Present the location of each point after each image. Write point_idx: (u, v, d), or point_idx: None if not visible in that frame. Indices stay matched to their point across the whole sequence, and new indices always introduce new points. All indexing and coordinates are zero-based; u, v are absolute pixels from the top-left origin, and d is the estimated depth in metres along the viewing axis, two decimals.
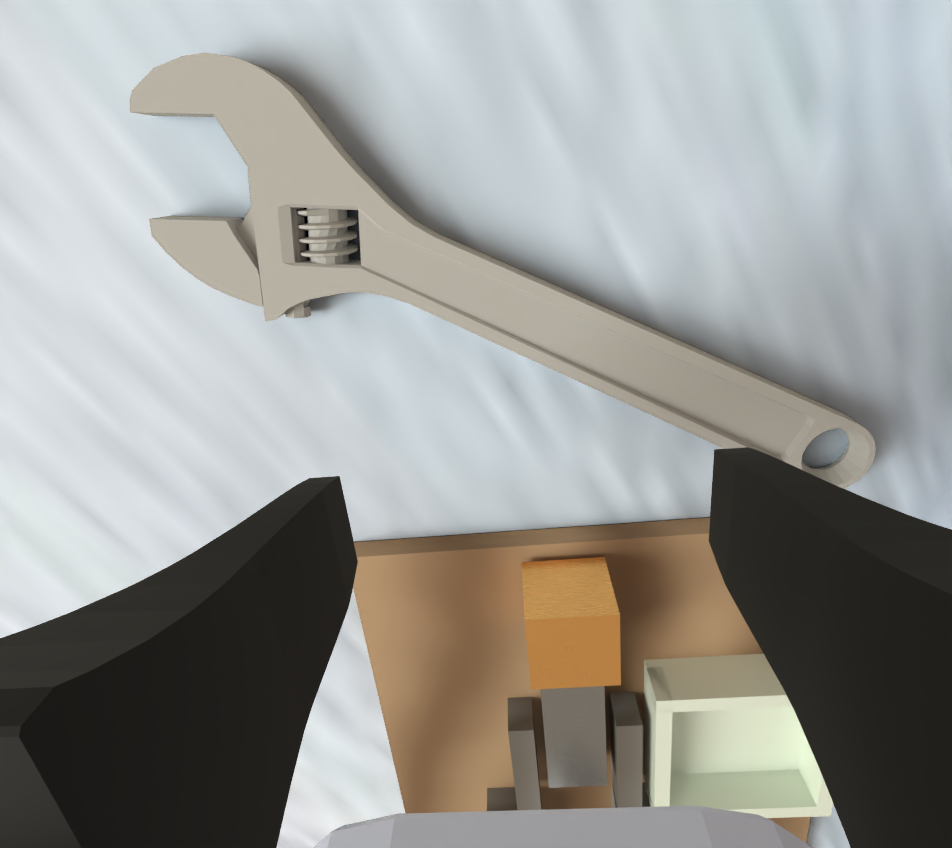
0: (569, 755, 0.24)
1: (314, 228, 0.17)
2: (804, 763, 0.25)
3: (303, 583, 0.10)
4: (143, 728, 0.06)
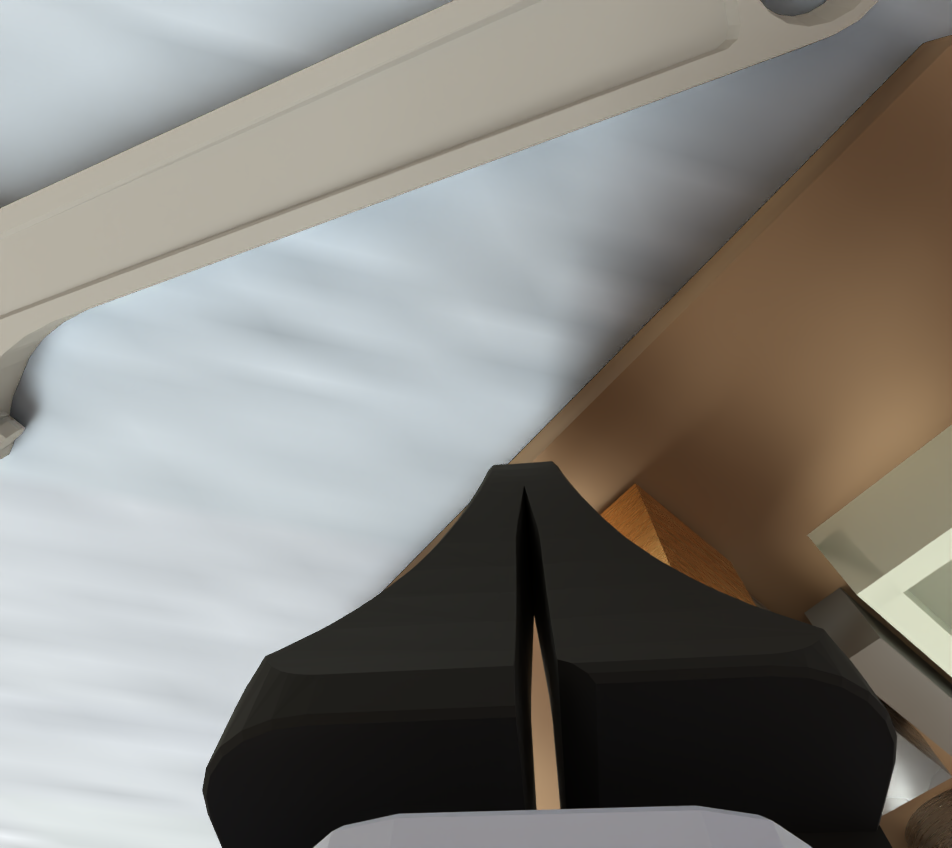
0: None
1: None
2: None
3: (525, 570, 0.09)
4: (521, 713, 0.05)
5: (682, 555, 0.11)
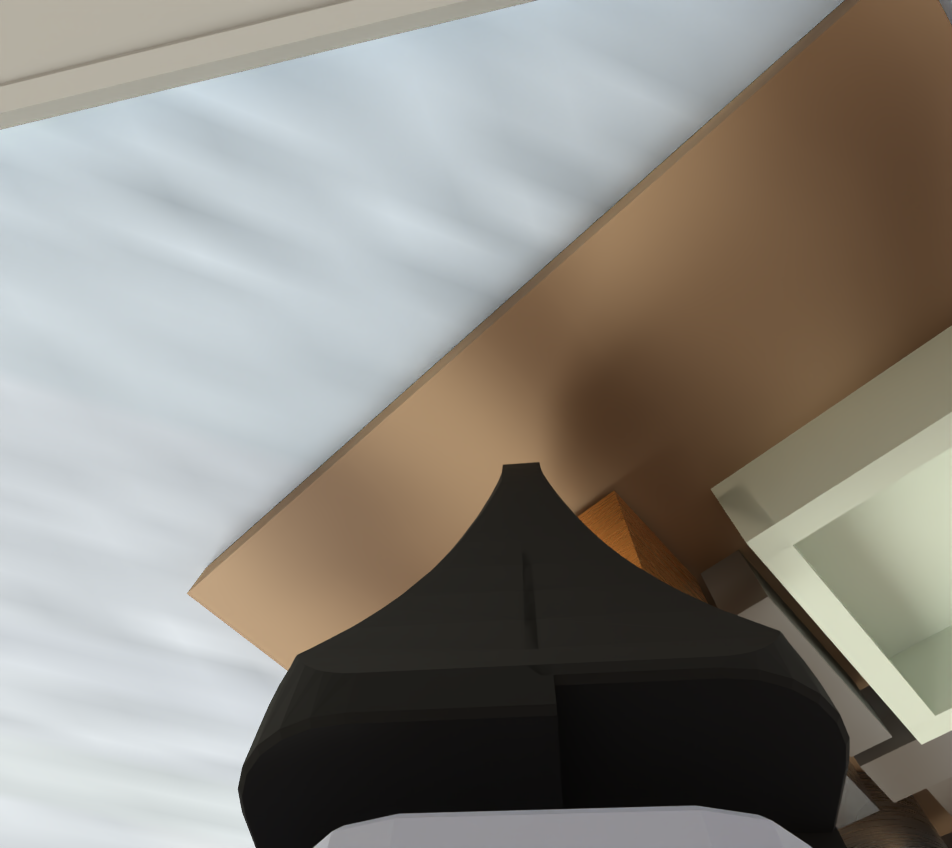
0: None
1: None
2: None
3: None
4: None
5: (654, 566, 0.11)
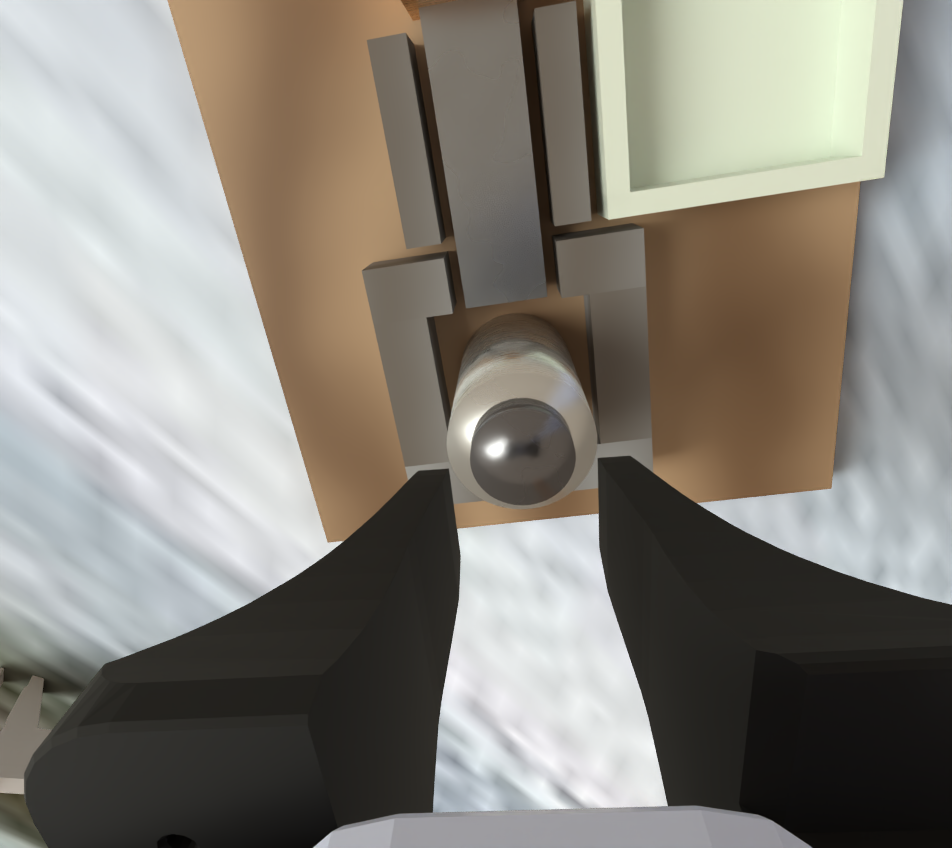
0: (488, 238, 0.17)
1: None
2: (838, 123, 0.16)
3: (434, 575, 0.09)
4: (364, 720, 0.05)
5: None
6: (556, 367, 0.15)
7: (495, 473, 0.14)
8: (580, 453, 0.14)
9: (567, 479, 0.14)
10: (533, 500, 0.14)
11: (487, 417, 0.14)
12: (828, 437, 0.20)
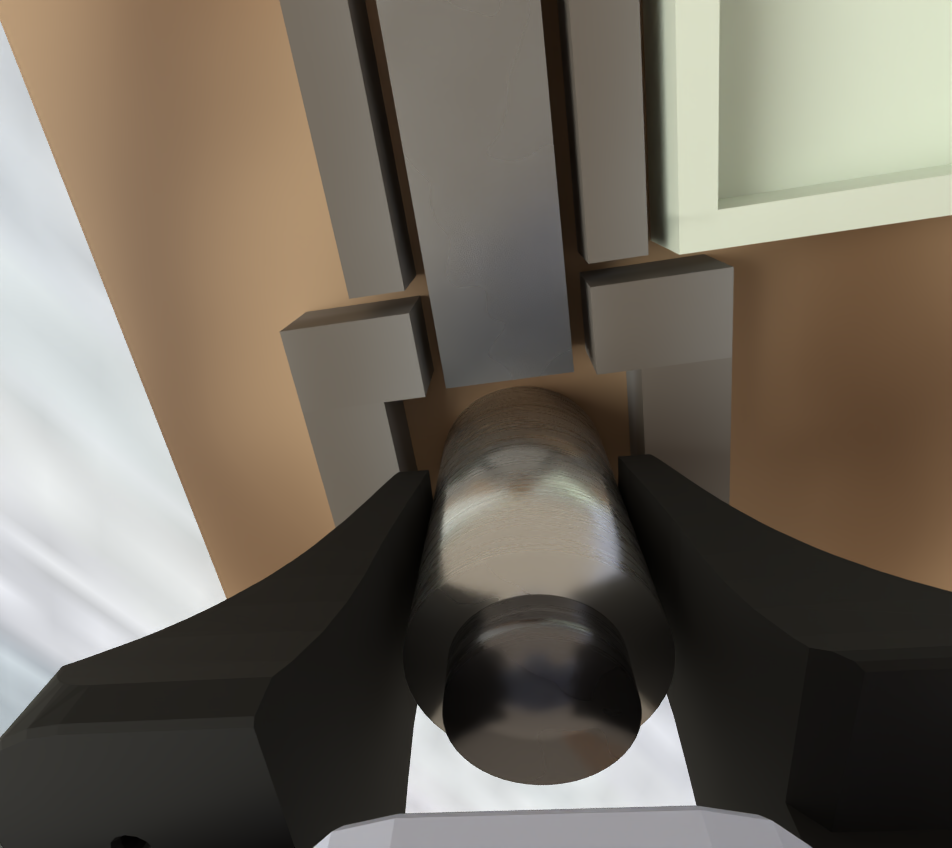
0: (480, 282, 0.10)
1: None
2: None
3: (410, 577, 0.09)
4: (323, 721, 0.05)
5: None
6: (598, 521, 0.08)
7: (490, 737, 0.07)
8: (644, 682, 0.08)
9: (624, 747, 0.07)
10: (560, 779, 0.08)
11: (475, 637, 0.07)
12: None
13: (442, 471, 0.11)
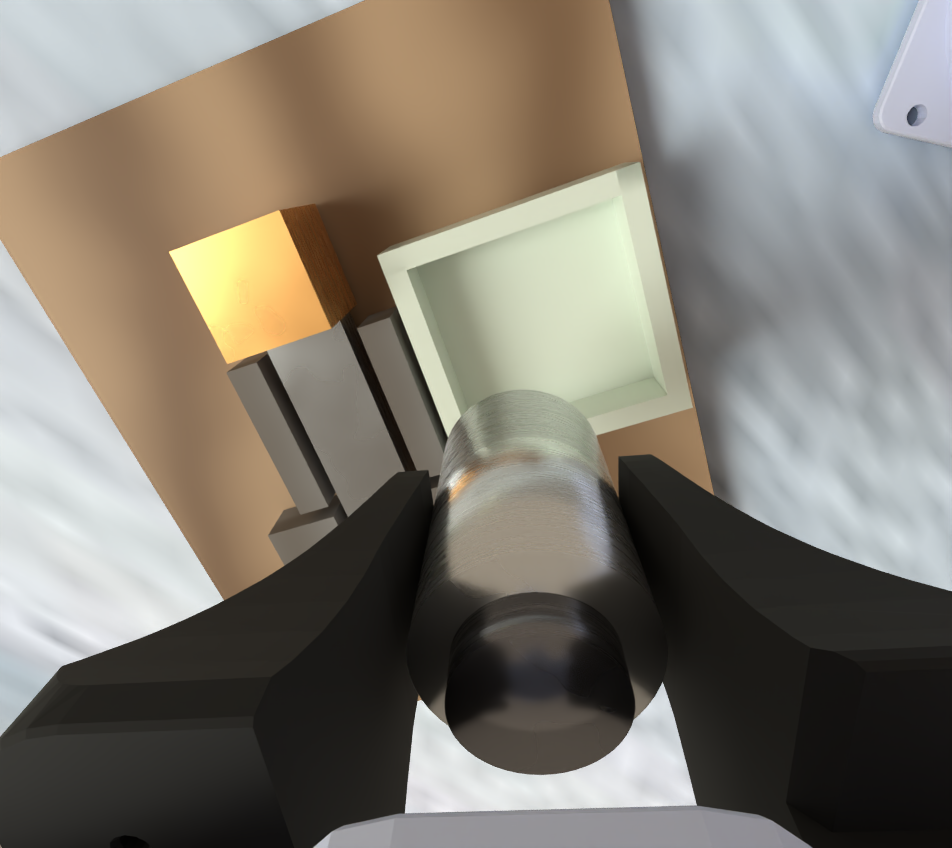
0: (367, 495, 0.19)
1: None
2: (650, 355, 0.18)
3: (410, 577, 0.09)
4: (322, 721, 0.05)
5: (304, 233, 0.15)
6: (603, 526, 0.09)
7: (488, 726, 0.08)
8: (635, 683, 0.08)
9: (614, 743, 0.08)
10: (550, 769, 0.08)
11: (482, 628, 0.07)
12: None
13: (447, 466, 0.12)
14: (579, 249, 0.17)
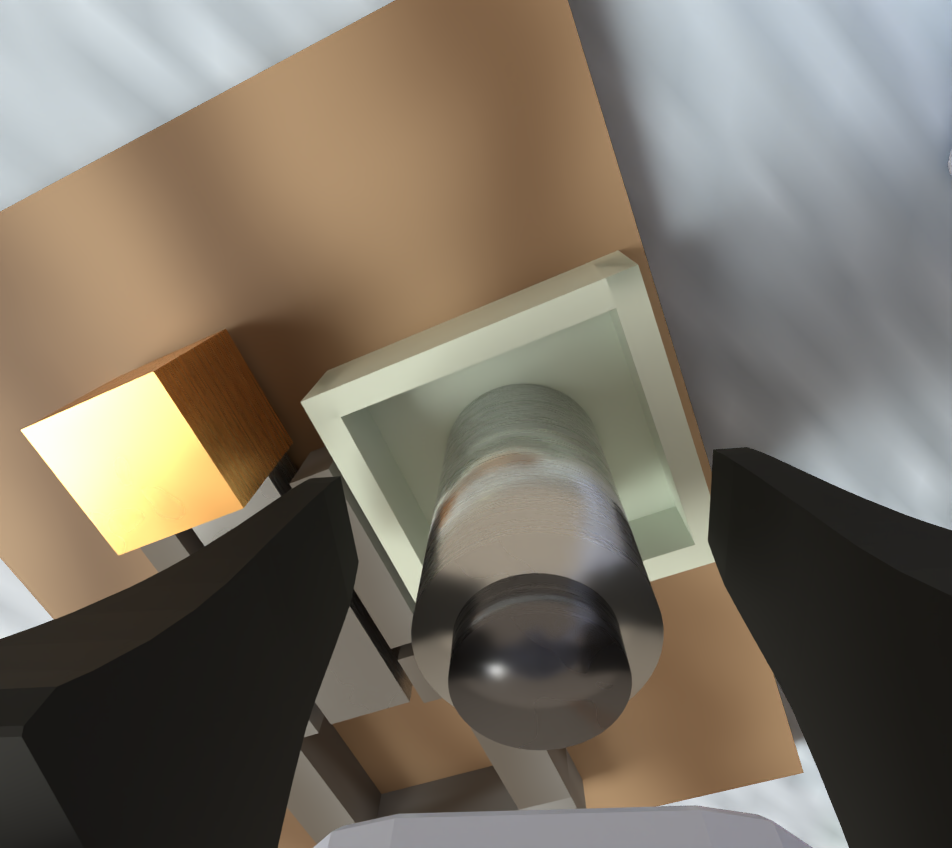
0: (328, 667, 0.15)
1: None
2: (669, 485, 0.14)
3: (305, 583, 0.10)
4: (145, 728, 0.06)
5: (202, 383, 0.12)
6: (602, 512, 0.09)
7: (490, 701, 0.08)
8: (632, 662, 0.09)
9: (611, 719, 0.08)
10: (549, 745, 0.08)
11: (485, 608, 0.08)
12: (780, 730, 0.18)
13: (450, 457, 0.12)
14: (567, 362, 0.13)
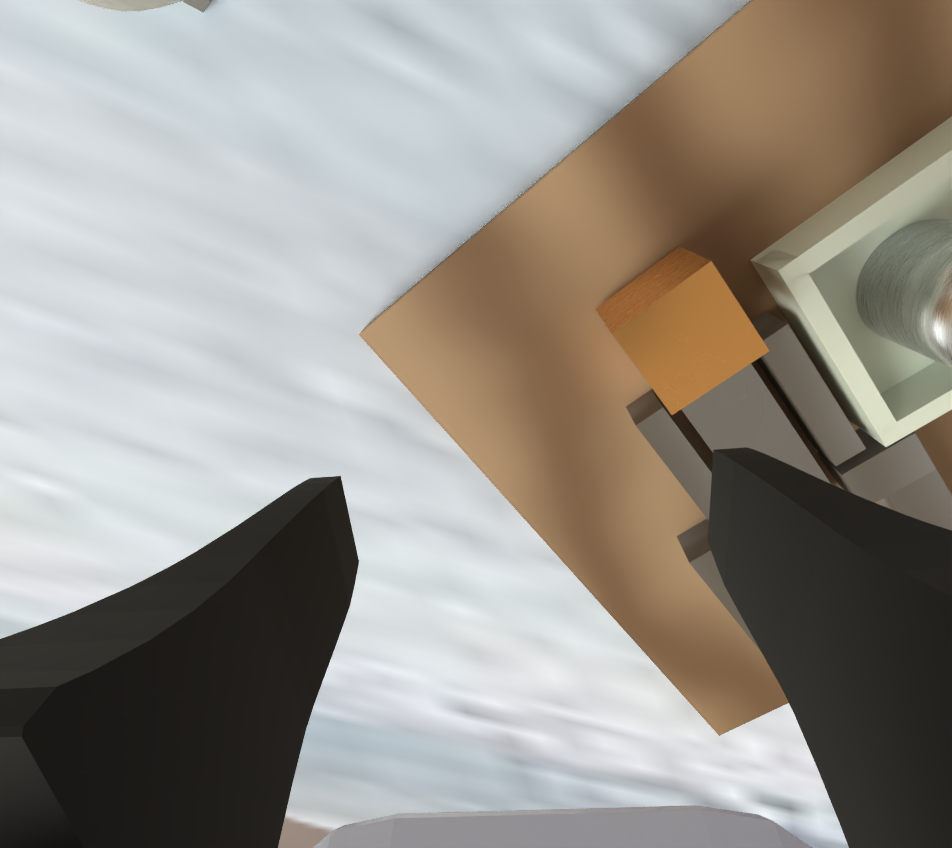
0: None
1: None
2: None
3: (305, 583, 0.10)
4: (145, 728, 0.06)
5: None
6: None
7: None
8: None
9: None
10: None
11: None
12: None
13: (906, 277, 0.16)
14: None
